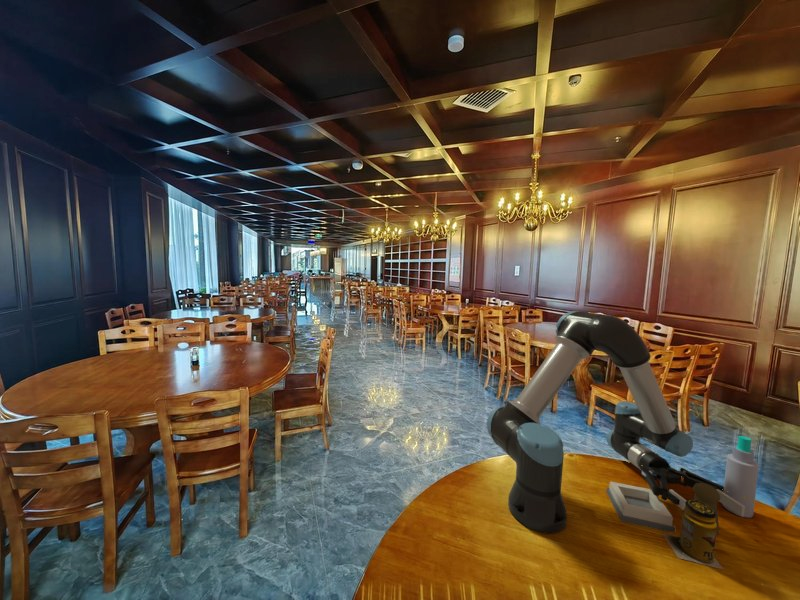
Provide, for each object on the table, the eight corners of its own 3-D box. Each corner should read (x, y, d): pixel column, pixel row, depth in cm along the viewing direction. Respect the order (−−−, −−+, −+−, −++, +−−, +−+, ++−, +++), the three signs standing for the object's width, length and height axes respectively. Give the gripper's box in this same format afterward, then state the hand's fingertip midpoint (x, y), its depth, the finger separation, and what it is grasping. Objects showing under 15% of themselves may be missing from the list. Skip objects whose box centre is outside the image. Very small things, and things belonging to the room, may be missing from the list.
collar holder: (621, 521, 83) (622, 507, 83) (606, 492, 95) (607, 480, 94) (674, 533, 80) (676, 519, 79) (652, 501, 91) (653, 489, 91)
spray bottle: (755, 522, 84) (764, 446, 82) (724, 511, 88) (731, 438, 86) (749, 509, 89) (757, 437, 87) (720, 499, 92) (727, 430, 91)
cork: (725, 536, 79) (729, 496, 78) (698, 532, 80) (702, 492, 79) (707, 518, 85) (711, 481, 84) (682, 514, 86) (685, 477, 85)
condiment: (723, 569, 70) (728, 520, 69) (678, 558, 72) (682, 511, 71) (702, 543, 77) (707, 498, 76) (662, 534, 79) (666, 491, 78)
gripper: (684, 472, 101) (762, 524, 80) (611, 473, 100) (670, 525, 79) (686, 451, 100) (765, 497, 79) (612, 451, 99) (673, 498, 78)
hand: (718, 511), depth 79 cm, fingers open, 13 cm apart
